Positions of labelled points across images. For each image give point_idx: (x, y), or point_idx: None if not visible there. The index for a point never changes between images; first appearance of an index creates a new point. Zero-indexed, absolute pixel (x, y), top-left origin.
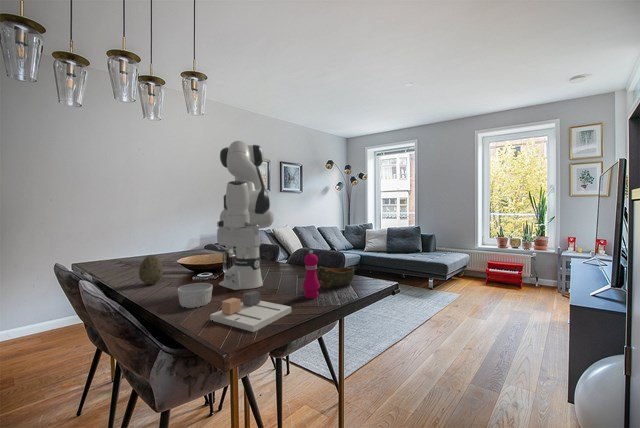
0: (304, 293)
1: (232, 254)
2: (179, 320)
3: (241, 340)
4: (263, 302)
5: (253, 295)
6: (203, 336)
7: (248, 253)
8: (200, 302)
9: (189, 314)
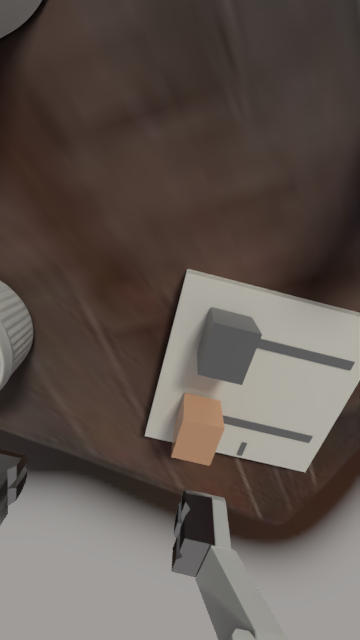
0: None
1: (4, 510)
2: (69, 438)
3: (287, 491)
4: (261, 304)
5: (246, 369)
6: (195, 490)
7: (237, 563)
8: (25, 355)
9: (56, 402)
